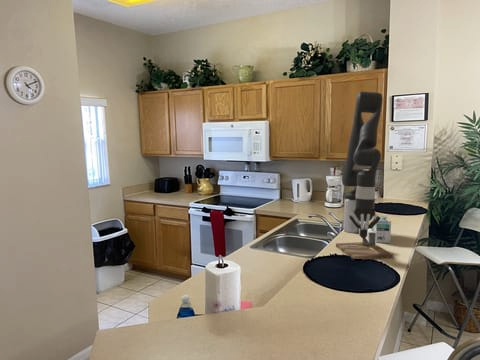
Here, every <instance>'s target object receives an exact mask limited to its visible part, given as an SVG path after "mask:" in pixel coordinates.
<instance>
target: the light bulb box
mask: <svg viewBox="0 0 480 360" xmlns="http://www.w3.org/2000/svg"><path fill="white" fill-rule="evenodd" d="M378 216H379V215H378ZM379 217H380V220H379V221H378V222H377V223H376V224H375V226H374V233H376V240H375V243H380V244H381V243H382V244H384V243H385V244H391V236H392V235H391V234H392V233H391V231H392V227H391V225H392V220H390V219H389V217H387V216H382V215H380V216H379ZM373 218H374V217H373ZM373 218H372V221H373V220H374V219H373Z"/></svg>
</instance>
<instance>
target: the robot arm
mask: <svg viewBox="0 0 480 360" xmlns="http://www.w3.org/2000/svg"><path fill="white" fill-rule="evenodd" d="M382 107H383V95H382V93H380V92H373V91H372V92H371V91H359V92H358V93H357V97H356V100H355V107H354V114H353V115H354V116H353V124H352V128H351V133H350V136H349V142H348V150H347V155H346V159H345V164H344V166H343V169H342V173H341V174H342V176H341V183H342V185H343V186H344V187H355V188H353V189H352V190H350V191H347V192H346V193H344V201H343V203H344V207H343V210H344V211H343V231H344V232H347V233H354V234H355V233H359V229H360V236H359V237H360V238H361V239H363V238H366V237H367V231H368V229H370V228H373V227H374V226H375V224H376V223H377V222H378V221H379V220H380V217H379V215H377V213H376V211H375V206H376V205H375V204H376V202H375V201H376V188H375V187H376V175H377V170H378V167H379V165H380V162H381V159H382V154H381V151H380V150H379V149H377V148H375V147H376V146H377V144H378V143H377V141H378V127H379V124H380V123H379V122H380V118H381V113H382ZM362 113H368V114H371V116H370V118H368V119H367V120H366V121H365V122H364V119H363V115H362ZM355 165H356V166H359V167H363V166H364V167H370V168H369V169H368V170H363V169H362V168H354V166H355ZM373 217H374V218H373ZM373 219H374V220H373ZM370 221H371V222H370Z"/></svg>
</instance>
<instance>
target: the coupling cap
mask: <svg viewBox="0 0 480 360" xmlns="http://www.w3.org/2000/svg"><path fill="white" fill-rule="evenodd" d="M358 233H359V234H358V235H359V237H360V229H359V232H358ZM366 239H367V241H368V242H369V245H370V246H375V244H376V242H375V240H376V233H374V227H373V228H370V229H368V231H367V237H366Z"/></svg>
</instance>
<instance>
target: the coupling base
mask: <svg viewBox="0 0 480 360" xmlns="http://www.w3.org/2000/svg"><path fill="white" fill-rule="evenodd" d="M335 248H337V249H338V250H340V251H341V252H342V253H344V254H345V255H347V256H348V257H349V256H350V257H351V259H352V258H353V259H362V260H375V259H376V260H377V259H380V260H381V259H393V258H394V254H393V253H391V252H390V251H388V250H387V249H384V248H382V247H381V246H379V245H377V244H376V243H375V246H370V245H369V242H368V241H367V239H366V238H362V241H360V242H357V241H355V242H340V243H339V242H336V243H335ZM350 257H349V258H350ZM353 259H352V260H353Z"/></svg>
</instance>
